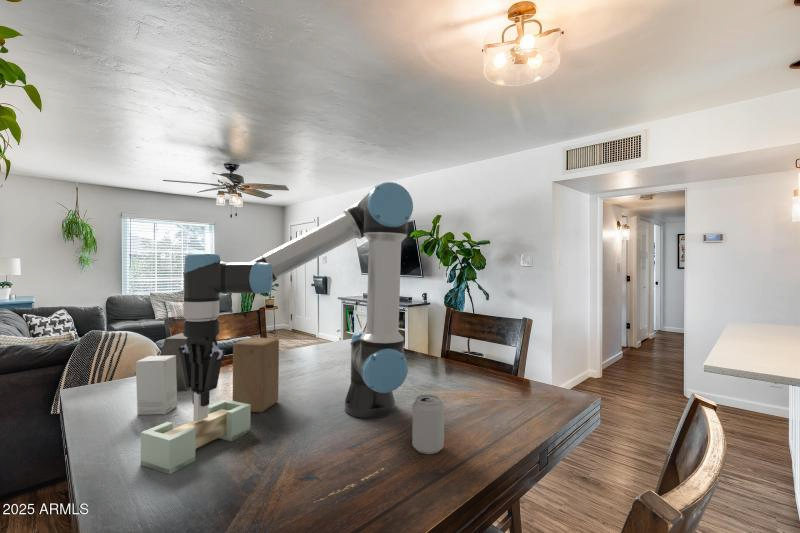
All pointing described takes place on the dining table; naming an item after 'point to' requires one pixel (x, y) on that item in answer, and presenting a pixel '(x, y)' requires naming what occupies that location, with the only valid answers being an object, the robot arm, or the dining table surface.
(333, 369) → the dining table surface
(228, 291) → the robot arm
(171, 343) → the planter
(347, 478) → the dining table surface
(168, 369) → the skincare box
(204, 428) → the slat
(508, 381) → the dining table surface
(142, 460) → the end caps
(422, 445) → the can
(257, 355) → the wooden block
